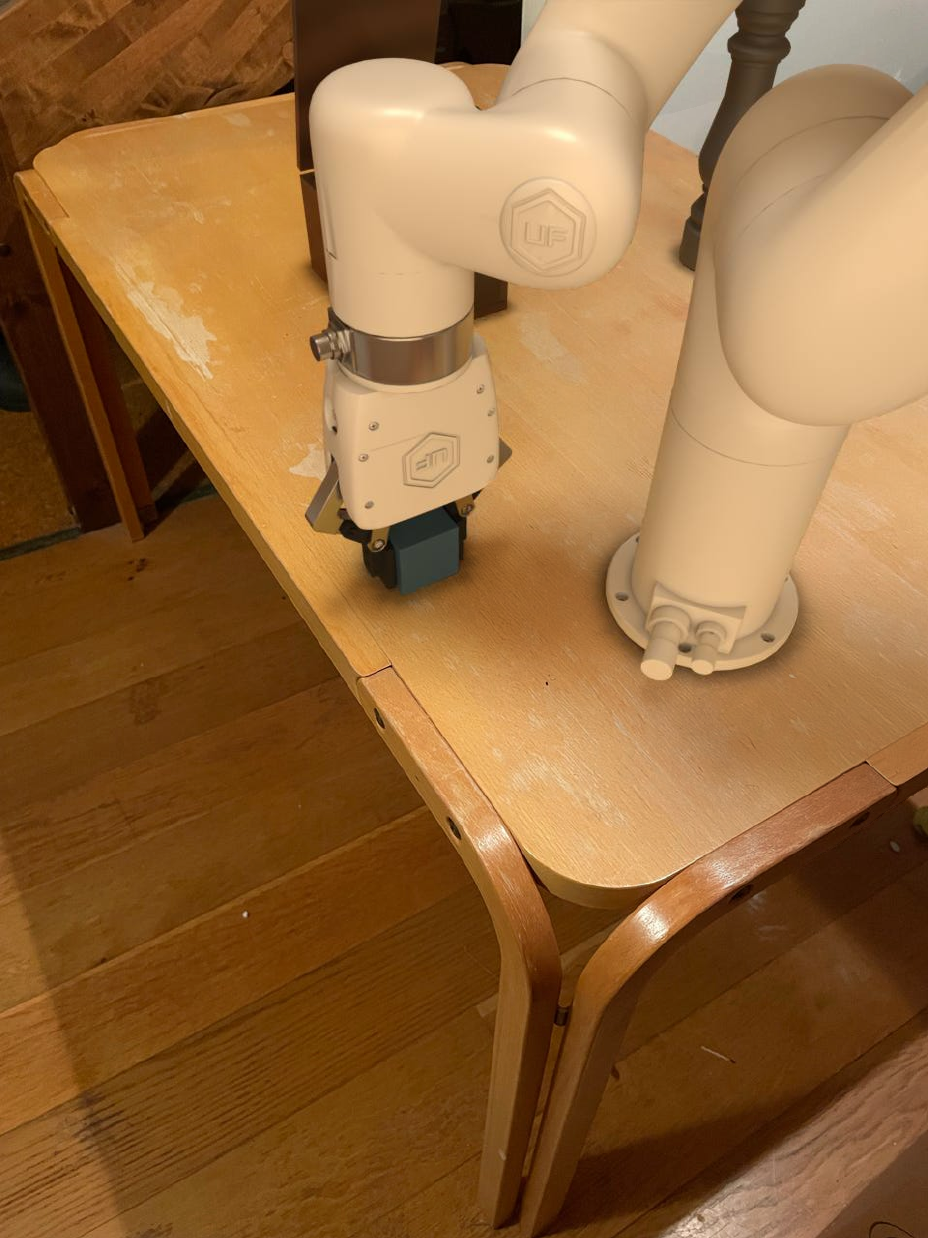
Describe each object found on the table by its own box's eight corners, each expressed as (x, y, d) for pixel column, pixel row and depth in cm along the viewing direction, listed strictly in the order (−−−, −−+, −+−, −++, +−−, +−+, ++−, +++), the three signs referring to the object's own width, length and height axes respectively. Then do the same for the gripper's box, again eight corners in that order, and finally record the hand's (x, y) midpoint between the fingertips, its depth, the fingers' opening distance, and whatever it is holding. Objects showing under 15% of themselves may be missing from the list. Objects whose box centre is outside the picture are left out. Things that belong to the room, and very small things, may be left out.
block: (459, 572, 62) (459, 527, 58) (403, 596, 60) (399, 551, 57) (429, 533, 64) (427, 487, 61) (374, 555, 63) (369, 509, 59)
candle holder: (719, 281, 86) (795, -29, 67) (666, 259, 89) (724, -46, 70) (753, 257, 89) (834, -47, 70) (700, 236, 92) (764, -62, 73)
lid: (446, -52, 70) (413, -92, 71) (294, -28, 65) (263, -71, 67) (425, 141, 84) (398, 104, 86) (300, 171, 80) (274, 132, 82)
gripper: (285, 415, 43) (327, 647, 57) (573, 320, 49) (547, 552, 63) (230, 339, 47) (282, 572, 61) (501, 258, 53) (492, 490, 67)
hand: (416, 560), depth 62 cm, fingers closed on block, 4 cm apart
